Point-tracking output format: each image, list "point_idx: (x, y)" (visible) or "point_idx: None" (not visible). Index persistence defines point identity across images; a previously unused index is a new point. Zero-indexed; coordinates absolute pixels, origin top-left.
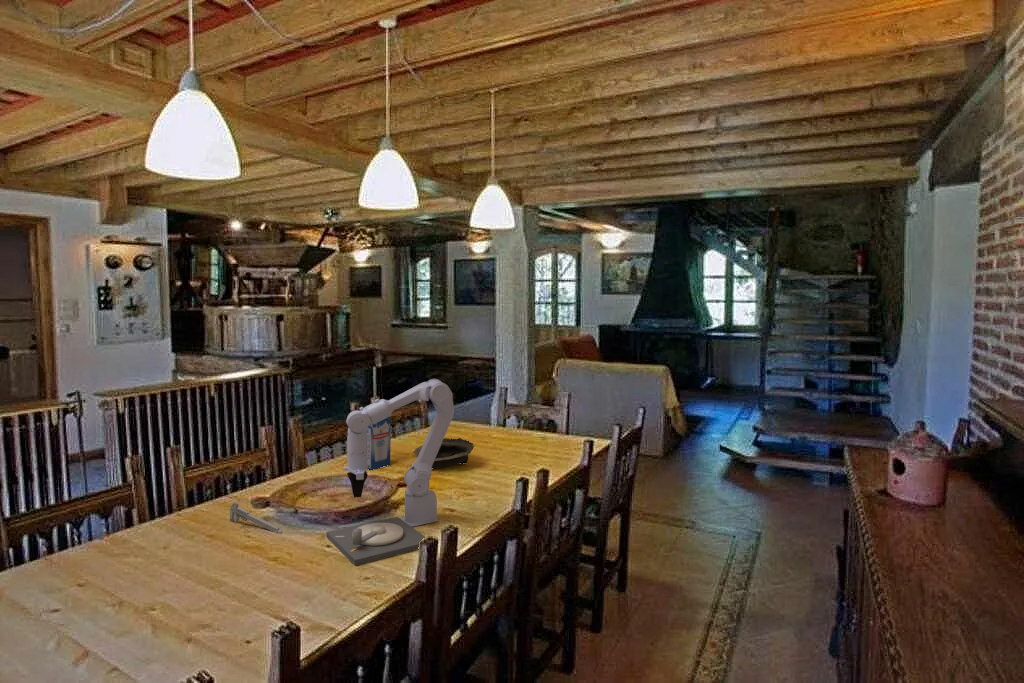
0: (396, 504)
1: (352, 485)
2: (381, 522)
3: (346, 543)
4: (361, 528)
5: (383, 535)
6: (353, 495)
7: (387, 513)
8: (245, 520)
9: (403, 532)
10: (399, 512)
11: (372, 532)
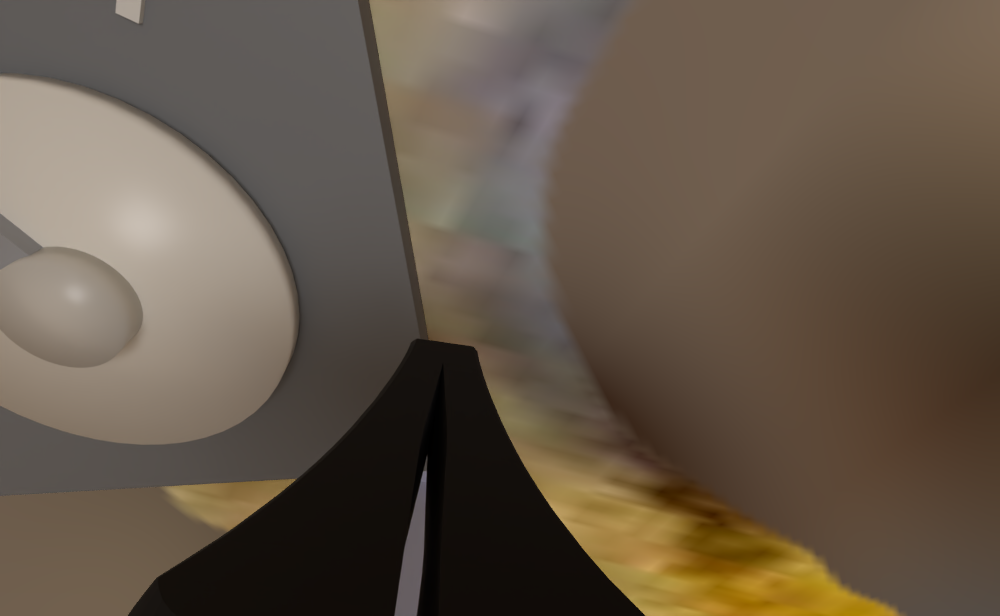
0: (715, 509)
1: (314, 466)
2: (381, 372)
3: None
4: (187, 207)
5: None
6: (414, 350)
7: (608, 439)
8: None
9: None
10: (582, 488)
11: (6, 255)
